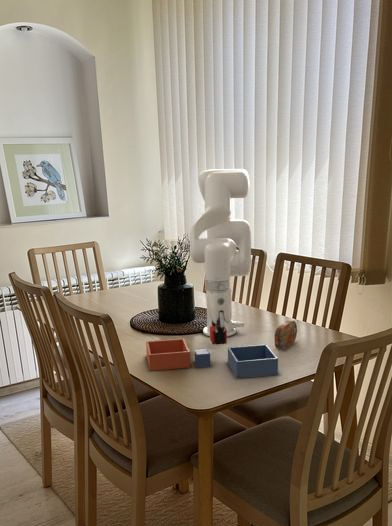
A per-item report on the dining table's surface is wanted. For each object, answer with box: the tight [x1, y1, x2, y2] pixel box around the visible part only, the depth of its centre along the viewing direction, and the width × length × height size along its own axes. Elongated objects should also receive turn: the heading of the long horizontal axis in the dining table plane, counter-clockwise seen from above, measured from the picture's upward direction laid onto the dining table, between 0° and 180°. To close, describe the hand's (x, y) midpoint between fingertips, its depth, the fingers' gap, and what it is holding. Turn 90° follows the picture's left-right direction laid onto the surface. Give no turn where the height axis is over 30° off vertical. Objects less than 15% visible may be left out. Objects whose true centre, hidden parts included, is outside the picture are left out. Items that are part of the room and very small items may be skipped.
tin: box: [274, 320, 298, 351], centre depth 195 cm, size 15×3×8 cm, turn 148°
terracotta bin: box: [145, 338, 191, 372], centre depth 183 cm, size 13×13×6 cm
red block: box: [209, 326, 228, 346], centre depth 172 cm, size 4×4×4 cm
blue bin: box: [227, 344, 279, 379], centre depth 176 cm, size 13×13×6 cm
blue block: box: [194, 348, 211, 368], centre depth 181 cm, size 4×4×4 cm
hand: (218, 340), depth 172 cm, fingers closed on red block, 4 cm apart
